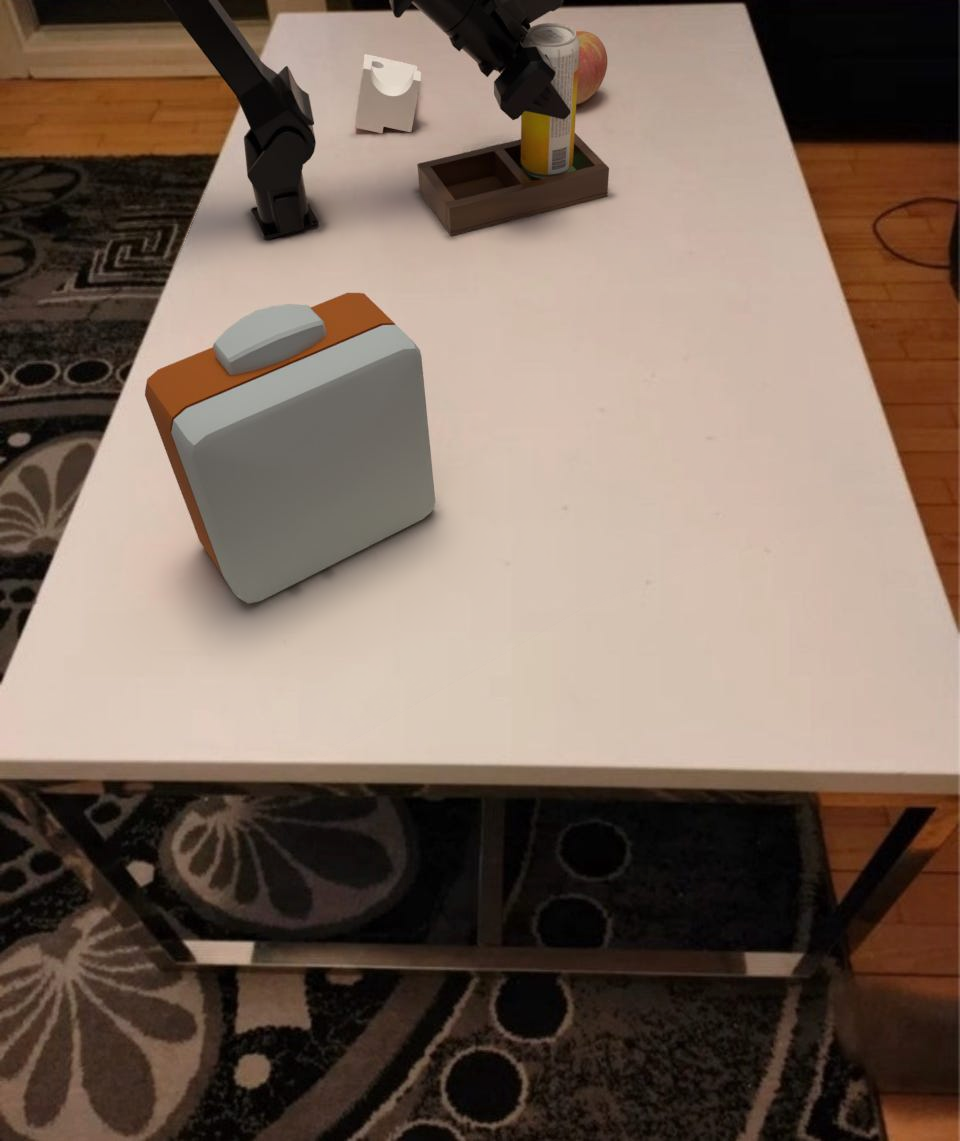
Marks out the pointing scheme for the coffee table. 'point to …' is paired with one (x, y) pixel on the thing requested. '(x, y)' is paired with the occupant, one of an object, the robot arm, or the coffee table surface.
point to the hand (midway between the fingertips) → (560, 102)
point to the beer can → (551, 137)
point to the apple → (590, 65)
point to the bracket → (387, 94)
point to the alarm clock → (297, 439)
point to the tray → (505, 186)
